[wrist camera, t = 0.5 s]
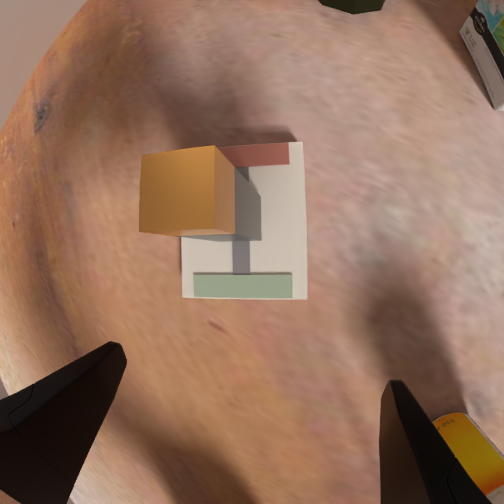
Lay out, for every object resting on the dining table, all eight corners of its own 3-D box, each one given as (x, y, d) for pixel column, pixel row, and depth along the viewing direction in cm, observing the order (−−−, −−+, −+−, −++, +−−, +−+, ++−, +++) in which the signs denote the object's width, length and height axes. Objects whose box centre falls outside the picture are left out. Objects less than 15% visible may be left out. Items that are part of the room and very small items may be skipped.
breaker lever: (261, 240, 21) (214, 228, 11) (218, 241, 21) (138, 231, 11) (260, 196, 21) (214, 145, 11) (218, 198, 22) (141, 155, 11)
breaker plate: (307, 295, 23) (307, 299, 21) (192, 294, 24) (181, 297, 22) (303, 150, 23) (302, 140, 21) (192, 158, 25) (181, 150, 22)
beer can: (400, 444, 21) (445, 567, 6) (451, 396, 20) (536, 497, 6) (433, 469, 20) (479, 574, 5) (479, 426, 19) (553, 515, 5)
